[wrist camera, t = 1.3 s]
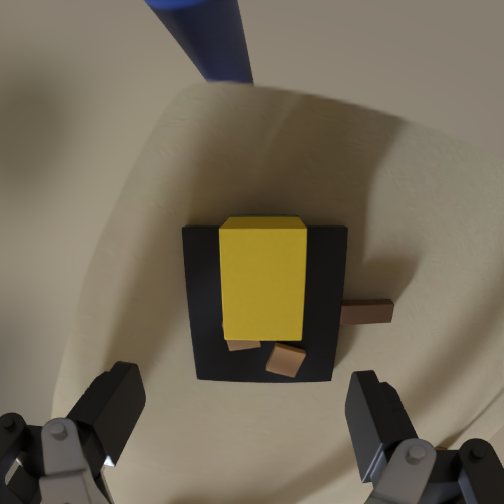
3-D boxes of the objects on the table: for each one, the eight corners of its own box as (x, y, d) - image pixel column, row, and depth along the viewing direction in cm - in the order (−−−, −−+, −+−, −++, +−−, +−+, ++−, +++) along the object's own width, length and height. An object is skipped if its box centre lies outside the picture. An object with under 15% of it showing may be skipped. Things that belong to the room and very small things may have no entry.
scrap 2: (276, 342, 27) (276, 346, 27) (305, 349, 27) (306, 354, 27) (265, 365, 28) (265, 370, 27) (293, 372, 28) (294, 377, 27)
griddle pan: (185, 225, 26) (180, 228, 25) (397, 226, 25) (404, 229, 24) (199, 373, 30) (196, 381, 29) (374, 371, 29) (377, 379, 28)
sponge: (230, 215, 24) (218, 228, 19) (298, 215, 24) (307, 228, 18) (233, 304, 27) (224, 339, 21) (295, 305, 26) (301, 340, 20)
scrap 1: (222, 319, 27) (221, 323, 26) (255, 315, 27) (254, 318, 26) (230, 346, 28) (229, 351, 27) (261, 342, 27) (261, 347, 27)
